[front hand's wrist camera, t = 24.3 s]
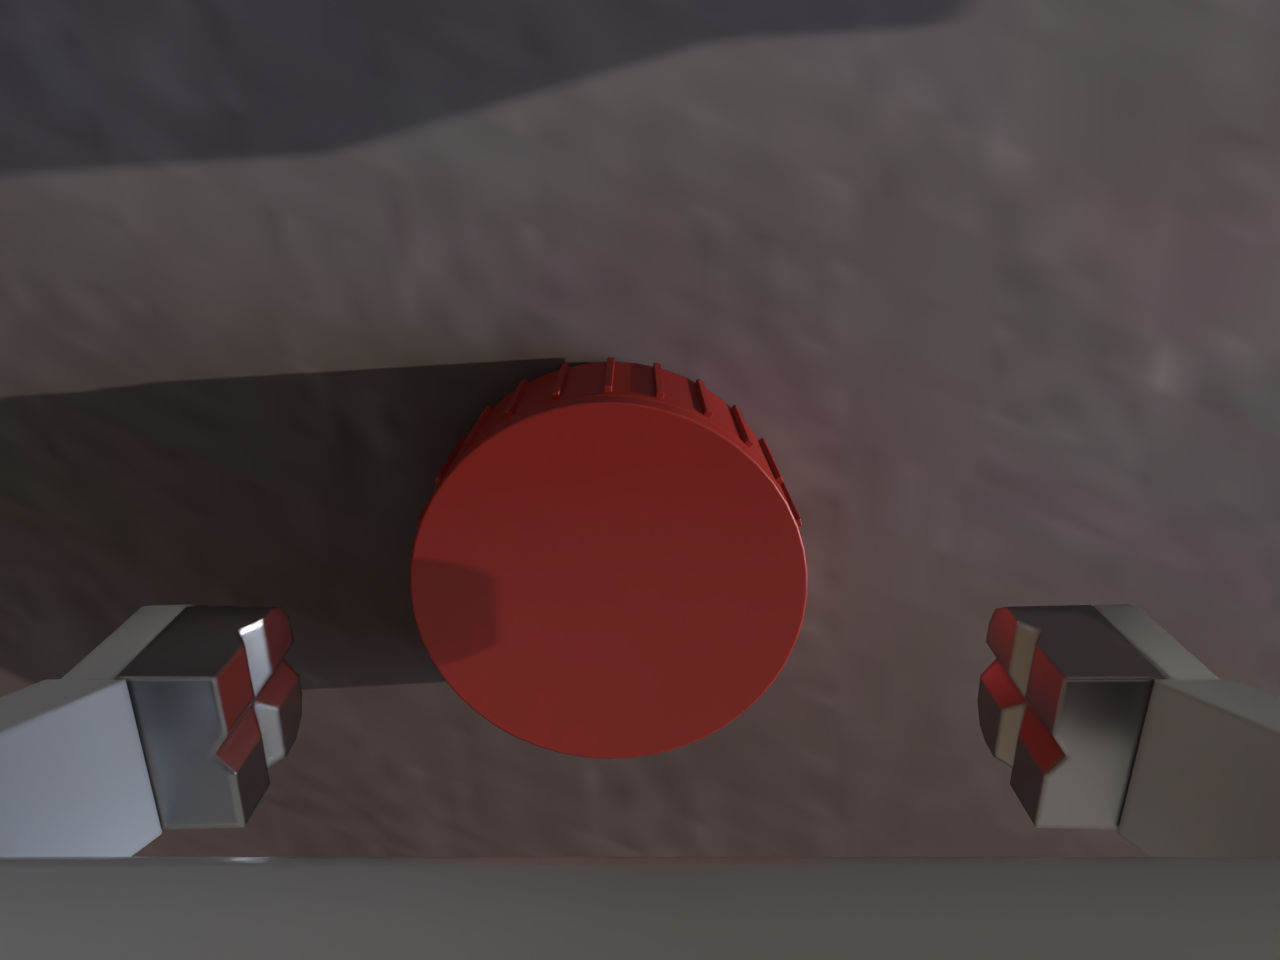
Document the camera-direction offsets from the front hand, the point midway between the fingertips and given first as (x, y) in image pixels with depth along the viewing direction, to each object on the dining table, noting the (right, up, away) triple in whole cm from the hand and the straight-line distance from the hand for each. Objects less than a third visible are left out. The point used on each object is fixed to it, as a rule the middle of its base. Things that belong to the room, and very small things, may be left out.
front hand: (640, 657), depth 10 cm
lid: (0, +1, +2) cm, 2 cm away
